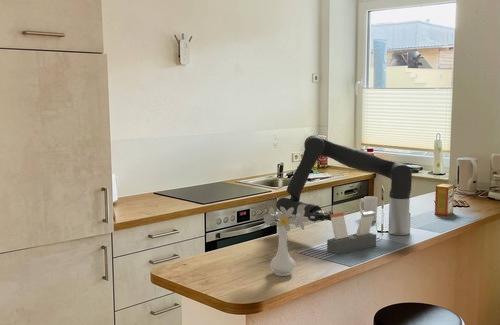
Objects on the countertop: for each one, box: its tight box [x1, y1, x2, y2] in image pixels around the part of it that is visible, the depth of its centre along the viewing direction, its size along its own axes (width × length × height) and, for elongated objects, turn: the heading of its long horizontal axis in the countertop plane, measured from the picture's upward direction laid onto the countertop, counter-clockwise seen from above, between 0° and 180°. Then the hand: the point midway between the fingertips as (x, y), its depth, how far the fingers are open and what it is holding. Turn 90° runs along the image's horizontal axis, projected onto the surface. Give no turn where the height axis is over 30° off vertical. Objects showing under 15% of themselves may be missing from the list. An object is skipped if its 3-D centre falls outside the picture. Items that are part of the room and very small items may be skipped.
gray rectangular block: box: [326, 232, 377, 255], centre depth 244 cm, size 23×6×6 cm, turn 124°
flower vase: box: [261, 206, 309, 277], centre depth 211 cm, size 13×18×25 cm
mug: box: [358, 195, 378, 223], centre depth 296 cm, size 10×7×12 cm, turn 51°
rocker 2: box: [355, 211, 375, 236], centre depth 245 cm, size 6×2×11 cm, turn 124°
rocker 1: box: [330, 212, 349, 239], centre depth 241 cm, size 6×2×11 cm, turn 124°
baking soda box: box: [434, 183, 455, 217], centre depth 309 cm, size 10×6×16 cm
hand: (335, 218), depth 243 cm, fingers closed
